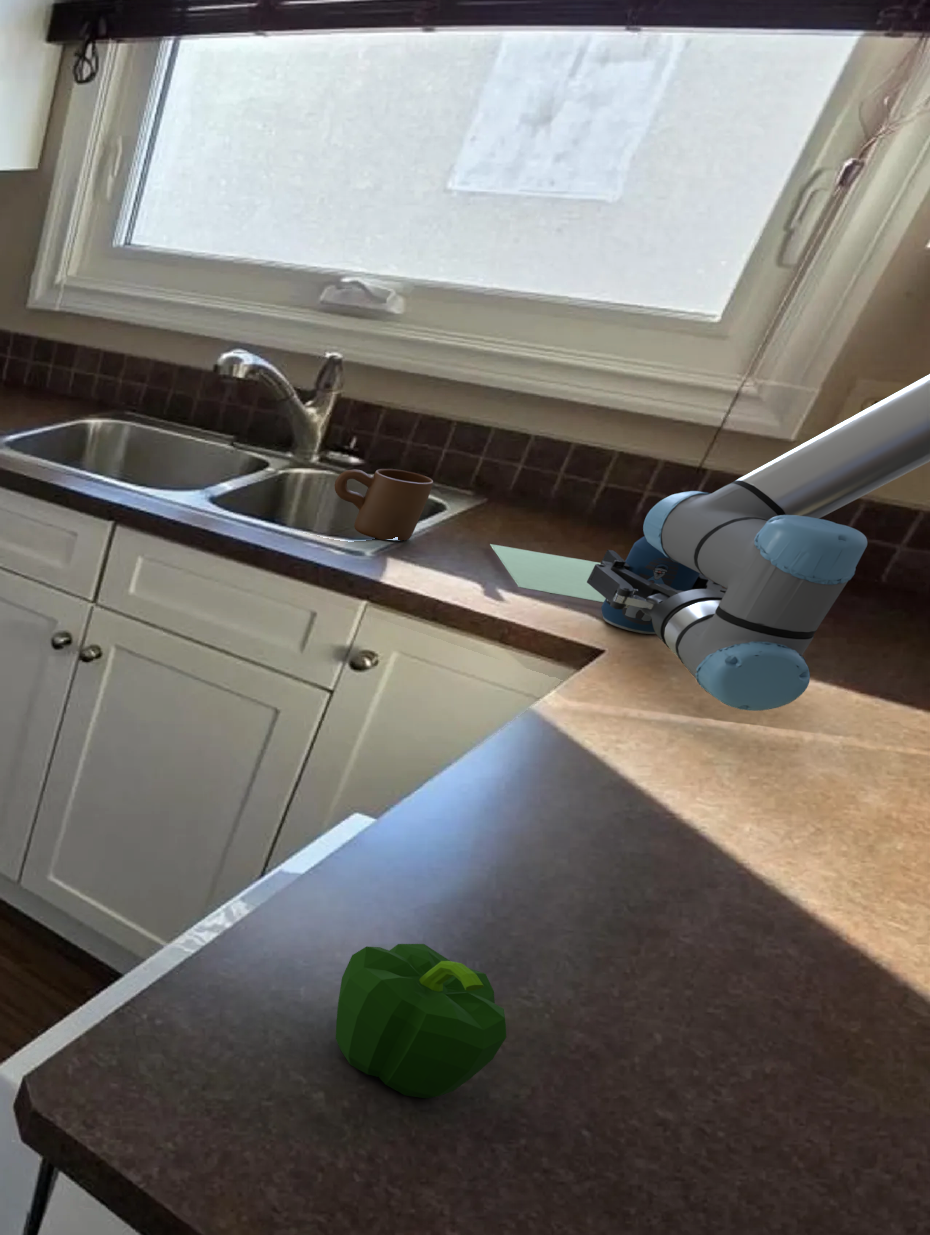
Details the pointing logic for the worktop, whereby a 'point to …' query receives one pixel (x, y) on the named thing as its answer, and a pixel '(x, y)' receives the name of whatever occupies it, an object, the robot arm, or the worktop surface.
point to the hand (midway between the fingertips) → (643, 566)
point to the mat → (549, 572)
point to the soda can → (655, 570)
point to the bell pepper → (417, 1019)
